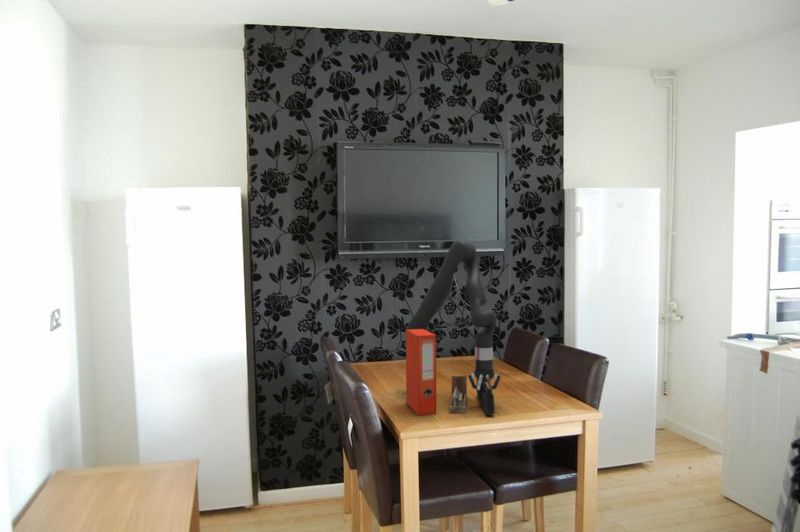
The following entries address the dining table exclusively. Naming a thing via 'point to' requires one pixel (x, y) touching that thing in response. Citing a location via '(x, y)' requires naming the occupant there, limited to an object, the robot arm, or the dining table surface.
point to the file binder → (421, 371)
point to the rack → (461, 385)
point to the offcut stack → (457, 398)
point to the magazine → (486, 398)
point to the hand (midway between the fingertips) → (484, 398)
